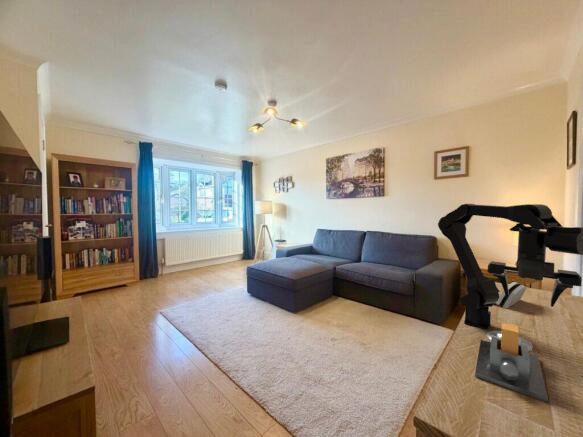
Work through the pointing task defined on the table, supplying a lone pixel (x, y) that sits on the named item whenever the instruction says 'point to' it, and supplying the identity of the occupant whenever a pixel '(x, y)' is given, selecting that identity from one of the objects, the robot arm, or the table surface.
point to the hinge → (511, 295)
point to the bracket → (511, 366)
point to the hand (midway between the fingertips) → (528, 301)
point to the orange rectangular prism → (509, 338)
